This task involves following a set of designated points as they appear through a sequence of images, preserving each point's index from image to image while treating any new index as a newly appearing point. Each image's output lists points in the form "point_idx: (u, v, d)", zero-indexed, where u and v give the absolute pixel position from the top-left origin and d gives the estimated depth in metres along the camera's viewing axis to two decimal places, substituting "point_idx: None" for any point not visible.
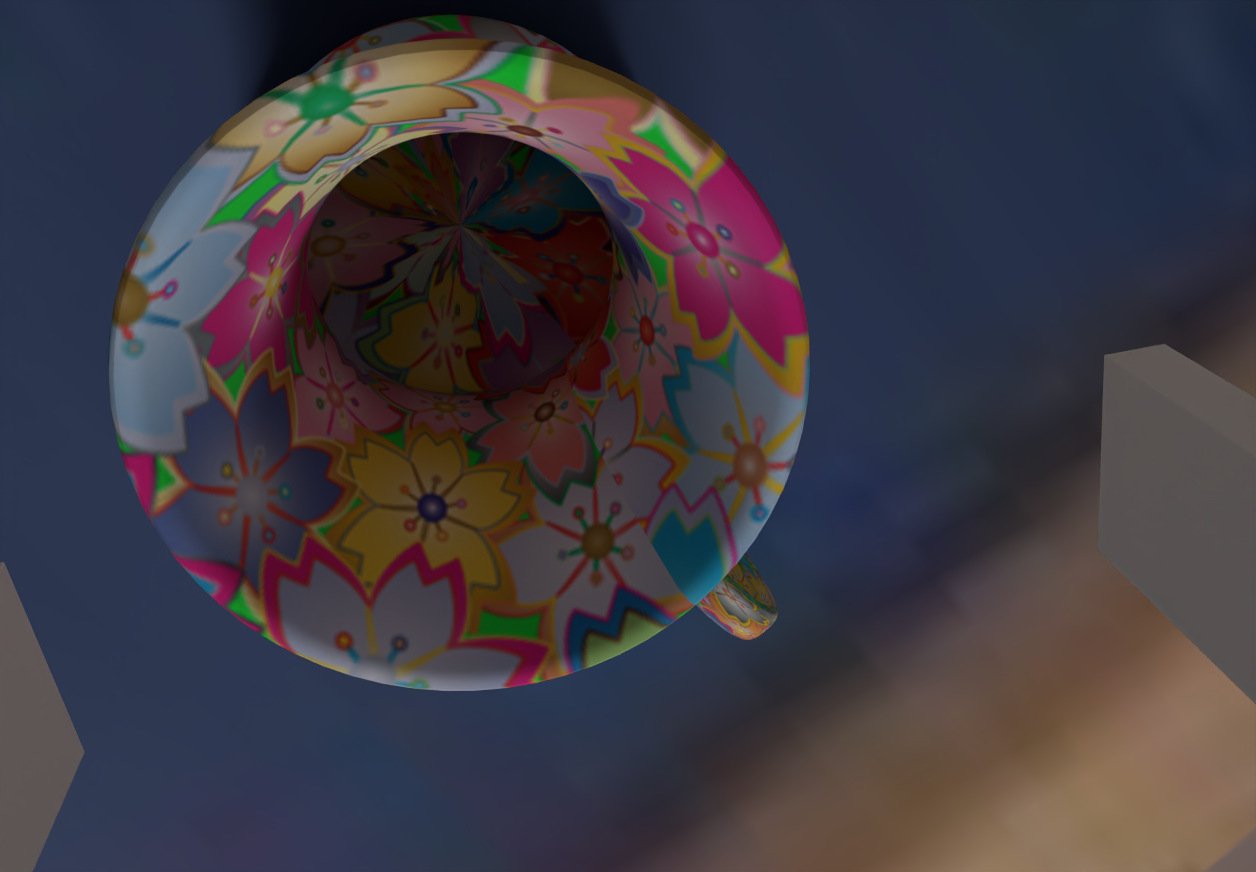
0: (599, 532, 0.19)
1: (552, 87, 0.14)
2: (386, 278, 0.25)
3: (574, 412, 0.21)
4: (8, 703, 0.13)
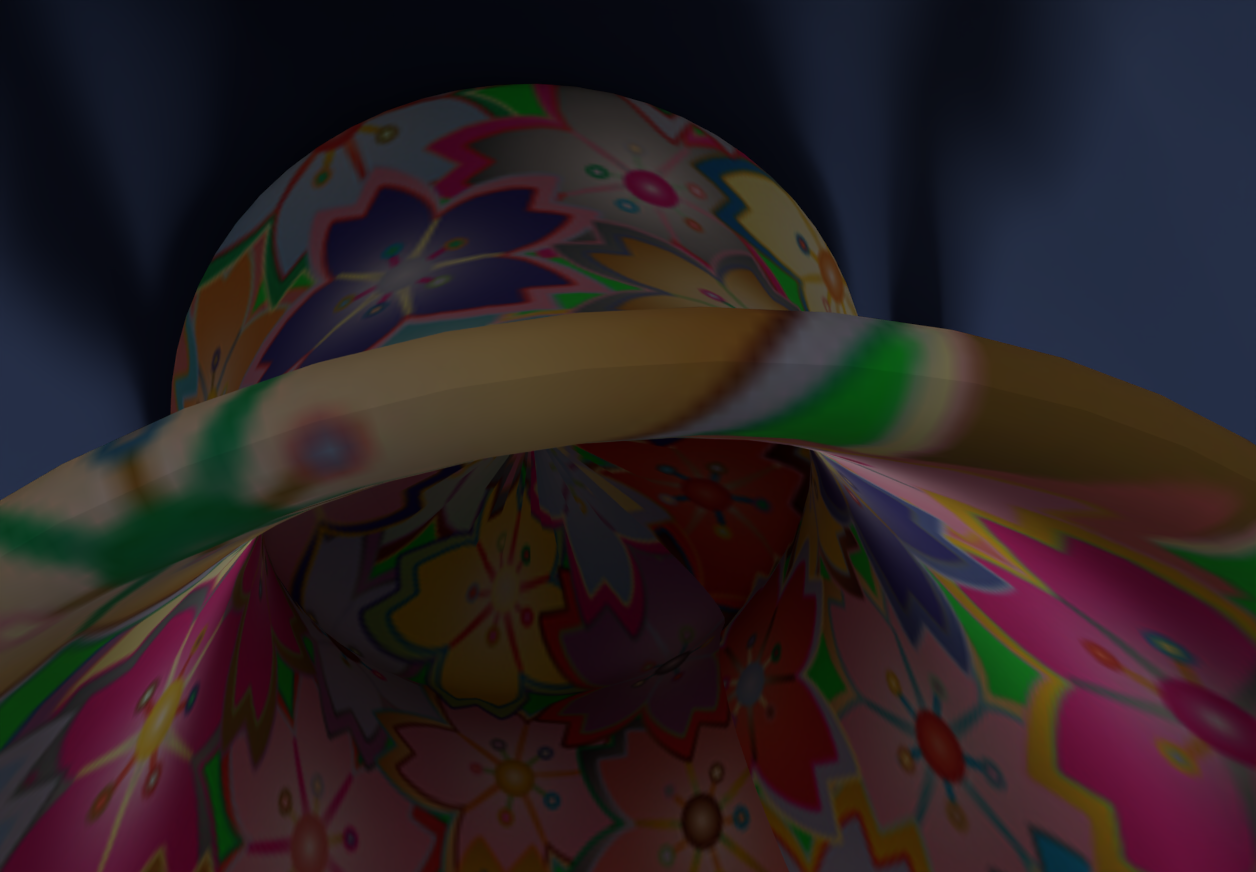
0: None
1: (954, 455, 0.04)
2: (410, 510, 0.15)
3: (766, 847, 0.11)
4: None
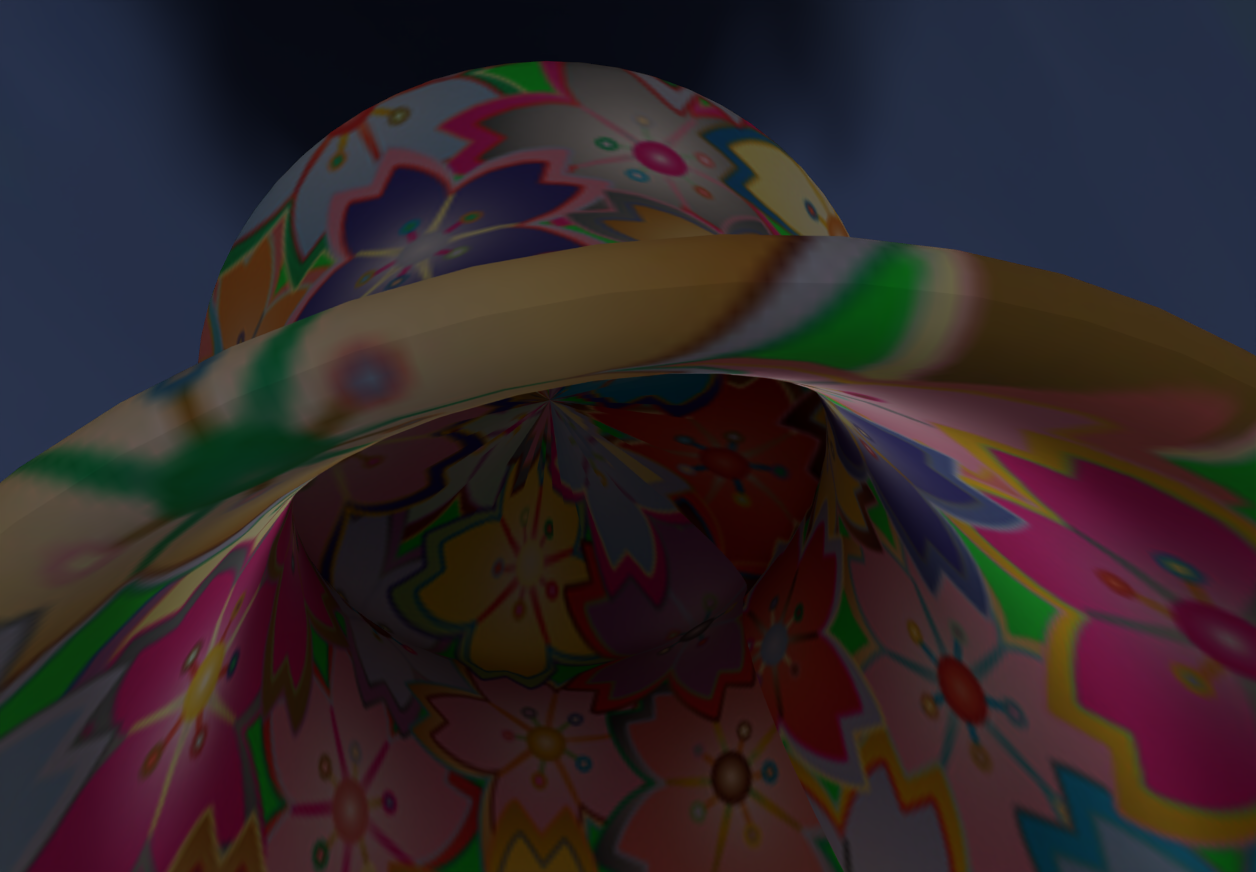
0: None
1: (959, 368, 0.04)
2: (433, 488, 0.15)
3: (795, 799, 0.11)
4: None
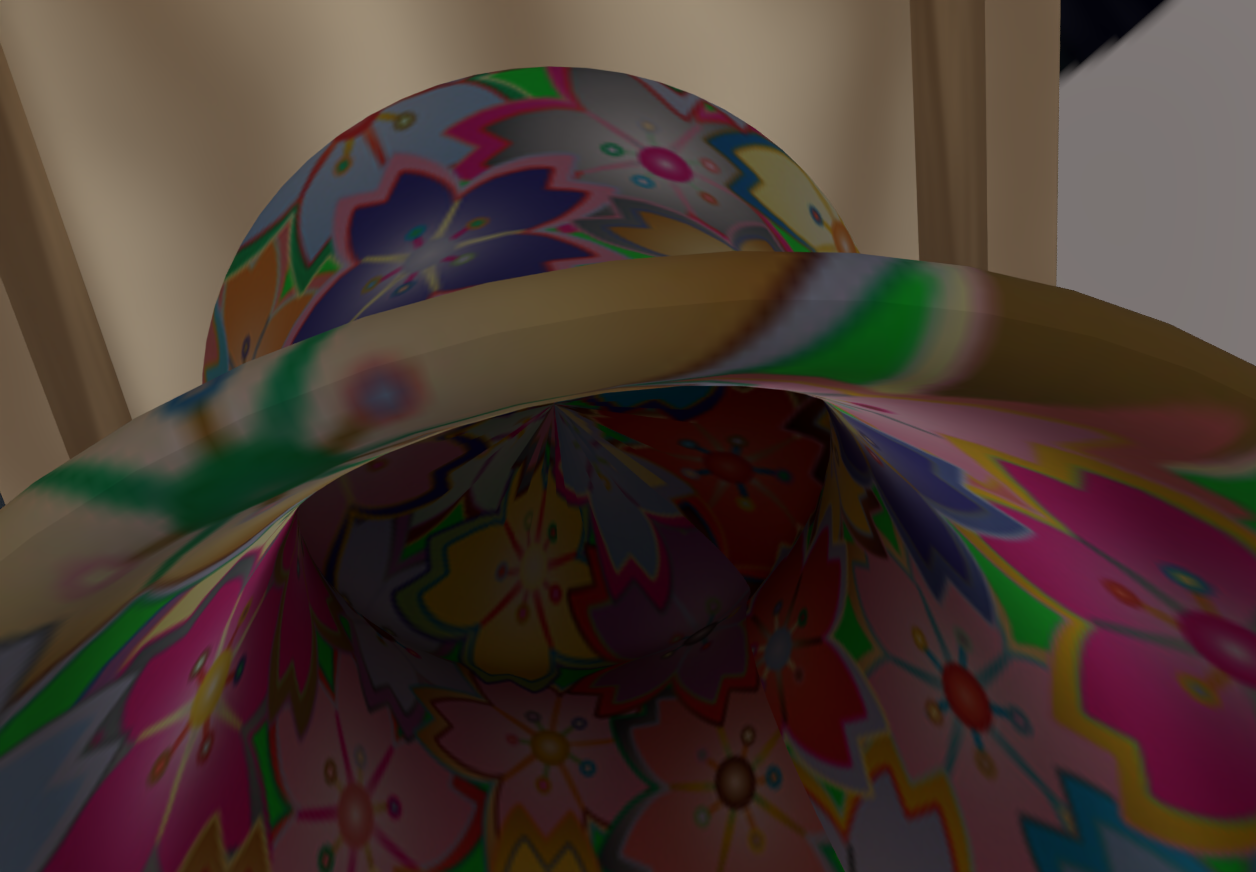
0: None
1: (971, 386, 0.05)
2: (437, 492, 0.15)
3: (799, 804, 0.11)
4: None
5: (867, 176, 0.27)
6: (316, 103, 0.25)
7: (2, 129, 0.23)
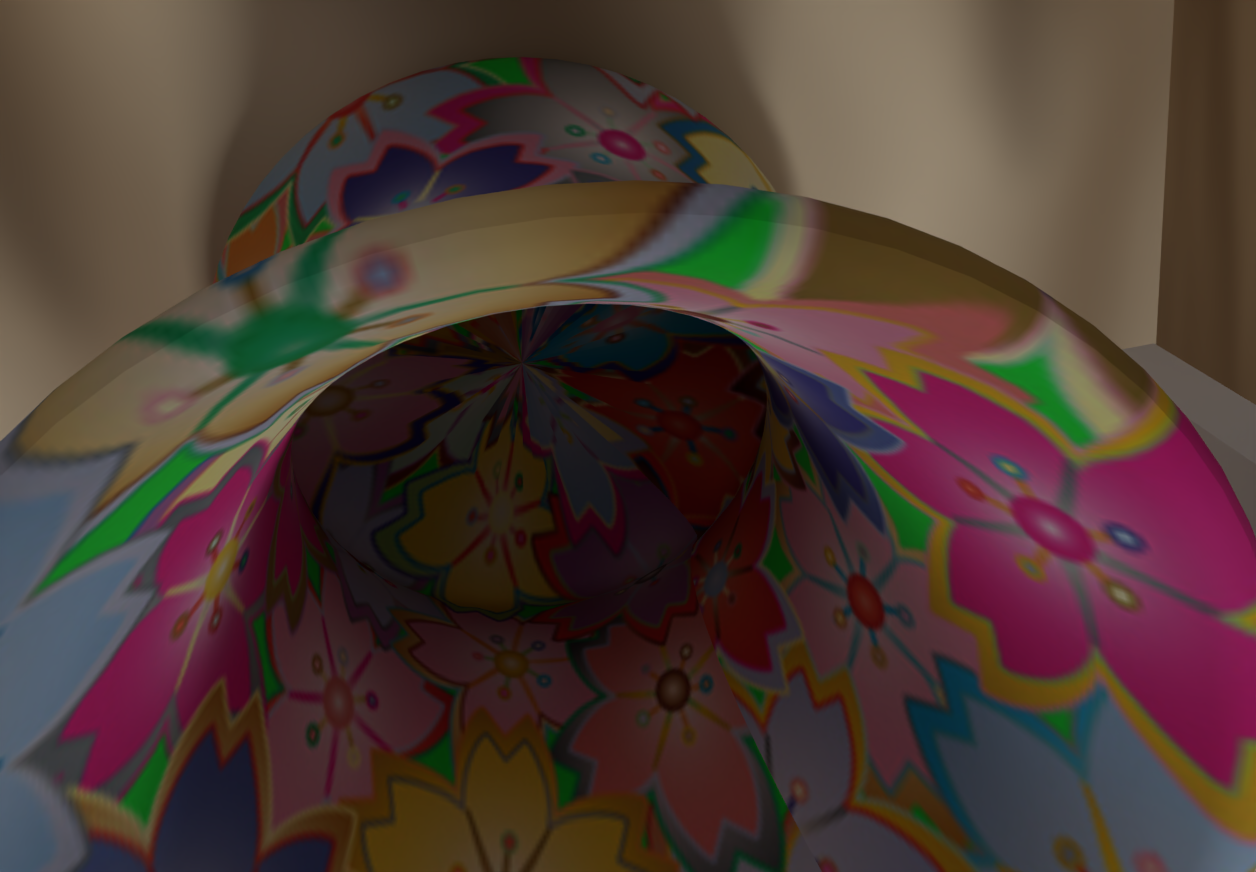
0: None
1: (810, 285, 0.06)
2: (415, 441, 0.17)
3: (727, 704, 0.13)
4: None
5: (1086, 304, 0.18)
6: None
7: None
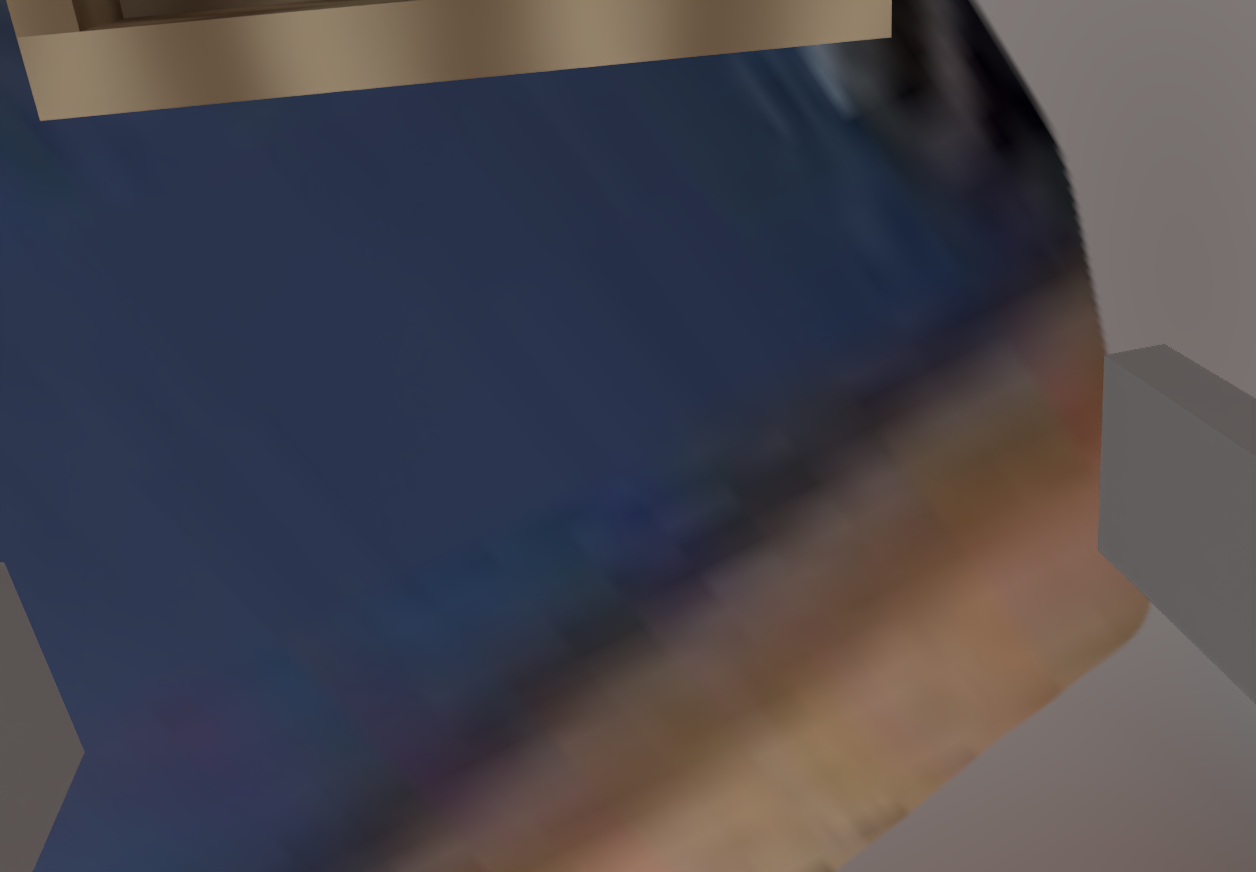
0: None
1: None
2: None
3: None
4: (8, 703, 0.13)
5: None
6: None
7: None
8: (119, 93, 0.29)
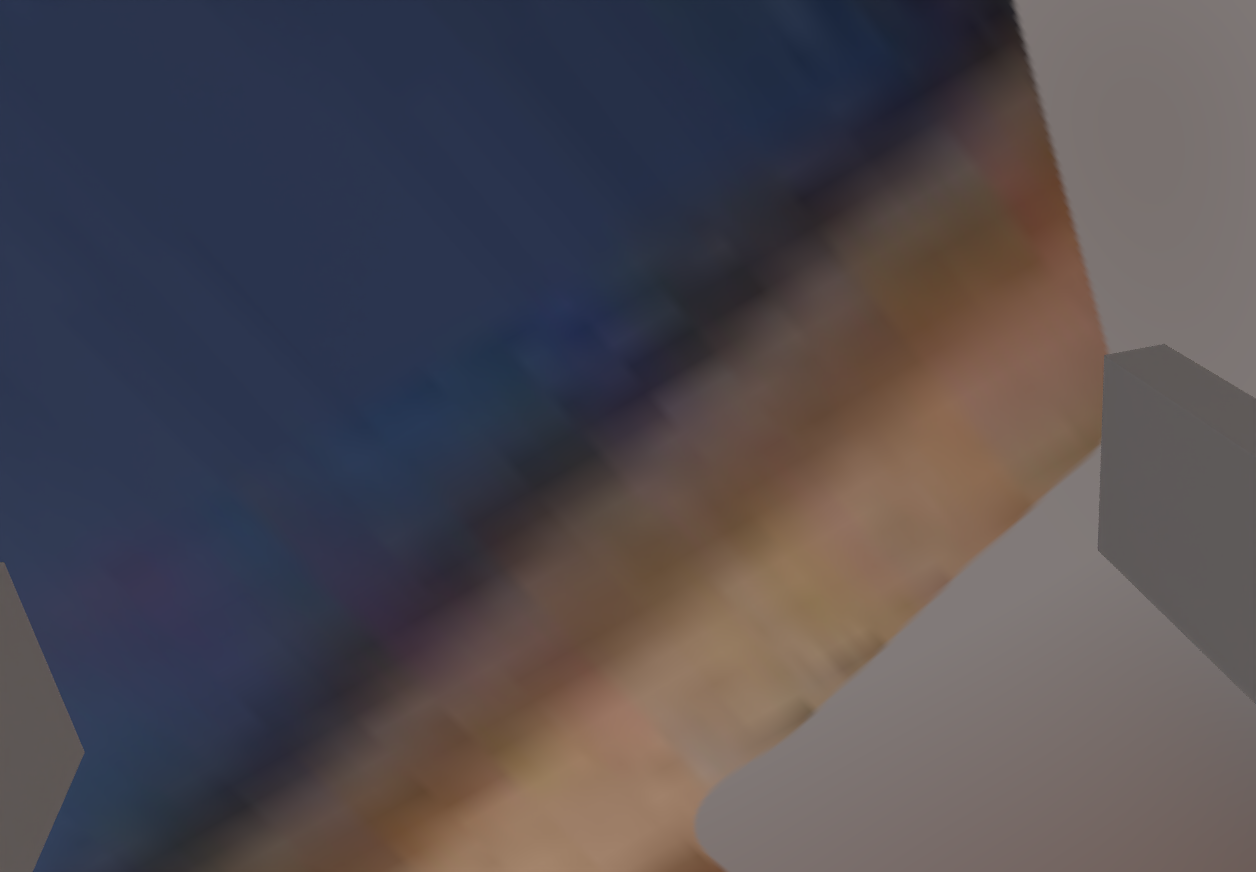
0: None
1: None
2: None
3: None
4: (8, 703, 0.13)
5: None
6: None
7: None
8: None
